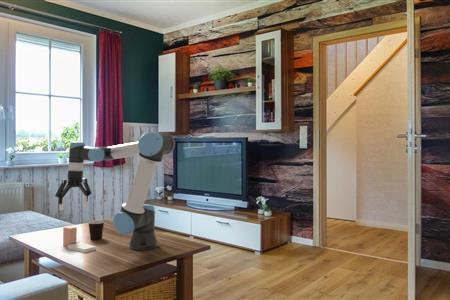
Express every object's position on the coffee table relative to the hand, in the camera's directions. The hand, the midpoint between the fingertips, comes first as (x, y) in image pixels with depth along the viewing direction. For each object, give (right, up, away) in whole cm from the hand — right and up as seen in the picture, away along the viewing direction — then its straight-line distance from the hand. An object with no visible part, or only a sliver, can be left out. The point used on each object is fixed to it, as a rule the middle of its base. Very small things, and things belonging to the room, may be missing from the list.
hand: (73, 208), depth 201 cm
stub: (-1, -20, -1) cm, 20 cm away
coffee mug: (+8, -20, +16) cm, 27 cm away
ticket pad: (+7, -20, -7) cm, 23 cm away
